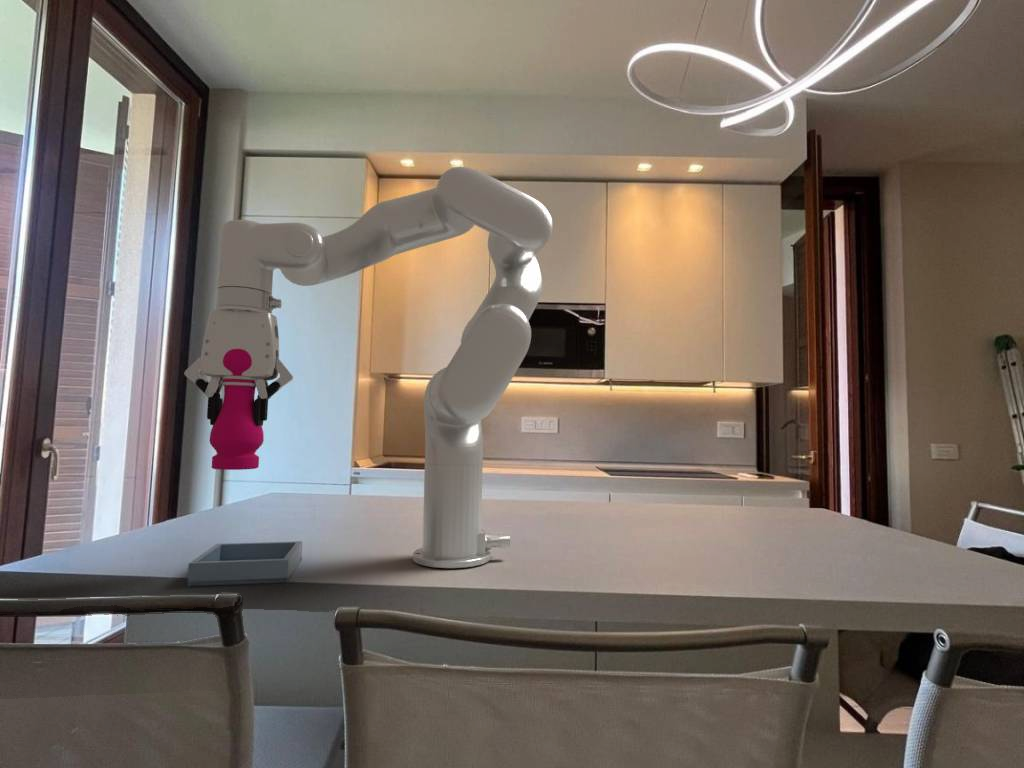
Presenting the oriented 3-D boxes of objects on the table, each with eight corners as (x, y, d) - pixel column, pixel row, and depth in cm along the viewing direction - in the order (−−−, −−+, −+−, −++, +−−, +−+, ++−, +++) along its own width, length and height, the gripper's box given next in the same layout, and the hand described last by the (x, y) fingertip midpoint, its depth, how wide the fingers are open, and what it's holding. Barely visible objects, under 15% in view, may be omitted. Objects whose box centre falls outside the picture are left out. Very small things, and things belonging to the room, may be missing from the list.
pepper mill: (271, 467, 87) (278, 337, 88) (244, 470, 79) (252, 330, 81) (227, 465, 87) (234, 337, 89) (196, 469, 80) (205, 329, 82)
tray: (301, 560, 90) (302, 541, 90) (287, 582, 78) (288, 559, 78) (216, 563, 88) (217, 543, 88) (187, 586, 75) (188, 563, 76)
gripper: (307, 313, 91) (301, 426, 89) (190, 306, 87) (183, 424, 86) (300, 303, 83) (293, 426, 82) (172, 295, 80) (163, 424, 78)
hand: (237, 424), depth 84 cm, fingers closed on pepper mill, 5 cm apart
